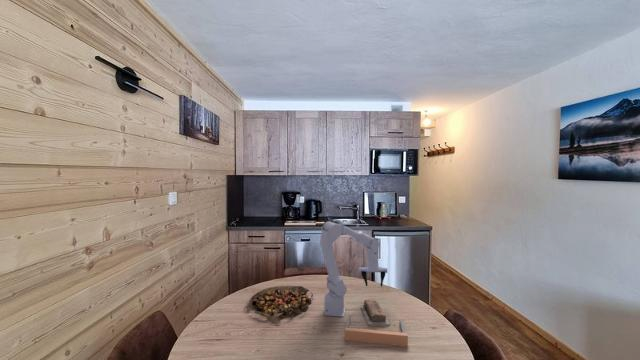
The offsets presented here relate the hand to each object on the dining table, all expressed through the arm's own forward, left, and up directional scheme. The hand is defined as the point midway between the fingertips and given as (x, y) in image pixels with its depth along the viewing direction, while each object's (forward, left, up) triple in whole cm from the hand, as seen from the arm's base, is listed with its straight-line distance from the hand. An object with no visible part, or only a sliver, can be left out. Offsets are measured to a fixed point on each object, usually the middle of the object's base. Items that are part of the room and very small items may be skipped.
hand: (374, 285), depth 142 cm
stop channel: (0, -26, -9) cm, 28 cm away
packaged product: (0, -14, -10) cm, 17 cm away
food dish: (-47, -8, -10) cm, 49 cm away
